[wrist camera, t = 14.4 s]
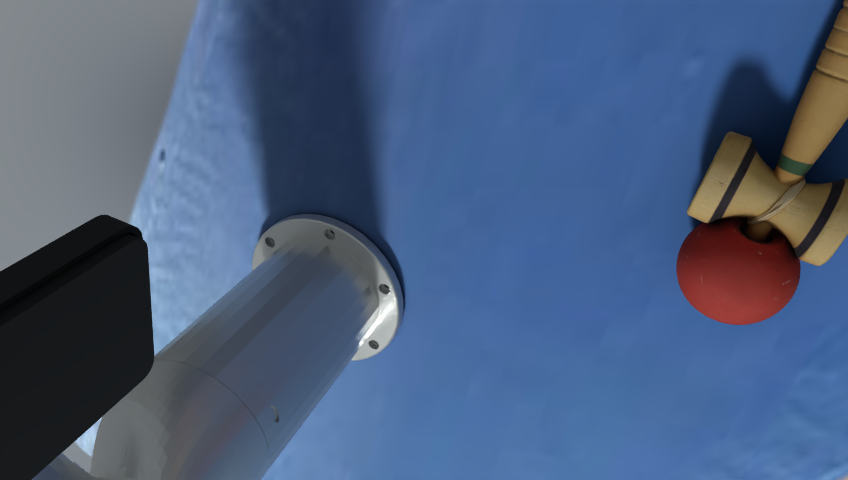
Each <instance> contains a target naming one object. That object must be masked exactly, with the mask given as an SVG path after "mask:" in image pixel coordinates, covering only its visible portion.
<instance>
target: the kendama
mask: <svg viewBox="0 0 848 480" xmlns="http://www.w3.org/2000/svg"><path fill="white" fill-rule="evenodd" d="M843 6H844V7H843V8H842V9H841V10H840V12H839V14H838V16H837V18H836V21H835V24H834V28H833V29H832V31H831V33H830V35H829V37H828V39H827V42H826V44H825V49H823V50H822V53H821V55H820V57H819V59H818V62H817V64H816V68H817V69H816V70H814V71H813V73H812V75H811V77H810V79H809V82H808V84H807V86H806V88H805V91H804V93H803V95H802V98H801V100H800V102H799V105H798V107H797V110H796V112H795V115H794V117H793V120H792V123H791V126H790V129H789V132H788V134H787V137H786V140H785V143H784V146H783V149H782V151H781V154H780V157H779V160H778V163H777V165H776V168H775V171H773V170H772V169H771V168H770V167H769V166H768V165H767V164H766V163H765V162H764V161H763V160H762V159H761V157H760V156H759V154H758V153H757V151H756V148H755V146H754V145H753V142H752V139H751V138H750V137H747V136H744V135H741V134H738V133H735V132H732V131H729V132H728V133H727V134H726V135H725V137H724V139H723V141H722V144H721V145H720V147H719V149H718V151H717V153H716V155H715V157H714V159H713V161H712V163H711V165H710V166H709V168H708V171H707V172H706V174H705V176H704V178H703V180H702V182H701V184H700V186H699V188H698V190H697V192H696V194H695V196H694V198H693V200H692V202H691V204H690V206H689V208H688V209H687V214H688V215H690V216H692V217H694V218H696V219H698V220H700V221H702V222H703V223H701V224H700V225H698V226H697V227H696V228H695V229H693V230H692V232H691V233H690V234H689V235H688V236H687V237H686V239H685V240H684V242H683V244H682V246H681V248H680V251H679V254H678V258H677V277H678V282H679V285H680V288H681V290H682V292H683V294H684V296H685V297H686V299H687V300H688V301H689V303H690V304H691V305H692V306H693V307H694V308H696V309H697V310H698V311H699V312H701V313H702V314H704V315H705V316H707V317H709V318H711V319H714V320H716V321H719V322H722V323H727V324H734V325H746V324H752V323H757V322H760V321H763V320H765V319H767V318H769V317H771V316H773V315H775V314H776V313H777V312H779V311H780V310H781V309H782V308H783V307H784V306H785V305H786V304H787V303H788V302H789V301H790V300H791V298H792V297H793V295H794V293H795V291H796V289H797V286H798V284H799V279H800V261H799V259H800V260H802V261H805V262H807V263H810V264H813V265H817V266H819V265H822V264H824V263H825V262H827V261H828V260H829V259H830V258H831V257H832V255H833V254H834V253H835V251H836V250H837V248H838V247H839V246H840V245H841V243H842V242H843V240H844V239H845V237H846V236H847V234H848V179H846V178H845V179H842V180H838V181H834V182H829V183H823V184H810V183H806V182H805V178H804V176H805V175H806V173H807V172H808V171H809V170H810V168H811V167H812V166H813V164H814V163H815V162H816V160H817V159H818V158H819V156H820V155H821V154H822V152H823V151H824V150H825V148H826V147H827V146H828V144H829V143H830V142H831V141H832V139H833V138H834V136H835V135H836V134H837V132H838V131H839V129H840V128H841V127H842V125H843V124H844V122H845V121H846V120H847V118H848V0H844V2H843Z"/></svg>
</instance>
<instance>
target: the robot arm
mask: <svg viewBox="0 0 848 480" xmlns="http://www.w3.org/2000/svg"><path fill="white" fill-rule="evenodd" d="M402 317H403V296H402V292H401V287H400V284H399V281H398V279H397V277H396V274H395V272H394V270H393V268H392V267H391V265H390V264H389V262H388V260H387V259H386V257H385V256H384V255H383V254H382V253H381V251H380V250H379V249H378V248H377V247H376V246H375V244H373V243H372V242H371V241H370V240H369V239H368V238H366V237H365V236H364V235H363V234H362V233H360V232H359V231H357V230H356V229H354V228H352V227H351V226H349V225H348V224H345V223H343V222H341V221H338V220H336V219H334V218H330V217H326V216H322V215H317V214H299V215H293V216H290V217H287V218H285V219H282V220H280V221H279V222H277V223H276V224H275V225H273V226H272V227H271V228H269V229H268V230H267V231H266V232H265V233H264V234H263V235H262V236H261V238H260V239H259V241H258V243H257V245H256V247H255V250H254V254H253V258H252V272H251V273H249V274H248V275H247V276H246V277H245V278H244V279H243V280H241V281H240V282H239V283H238V284H237V285H236V286H234V287H233V288H232V289H231V290H230V291H229V292H228V293H226V294H225V295H224V296H223V297H222V298H221V299H219V300H218V301H217V302H216V303H215V304H214V305H213V306H211V307H210V308H209V309H208V310H207V311H206V312H205V313H203V314H202V315H201V316H200V317H199V318H198V319H196V320H195V321H194V322H193V323H192V324H191V325H190V326H188V327H187V328H186V329H185V330H184V331H183V332H181V333H180V334H179V335H178V336H177V337H176V338H175V339H173V340H172V341H171V342H170V343H169V344H168V345H166V346H165V347H164V348H163V349H162V350H161V351H160V352H158V353H157V354H156V355H155V356H154V344H153V327H152V311H151V295H150V278H149V262H148V247H147V243H146V242H145V241H144V240H143V238H142V233H141V231H140V230H139V229H138V228H137V227H134V226H132V225H130V224H128V223H125V222H123V221H120V220H118V219H115V218H113V217H111V216H108V215H100V216H97V217H95V218H94V219H91V220H90V221H88V222H86V223H85V224H83V225H81V226H79V227H77V228H76V229H74V230H72V231H70V232H69V233H67V234H65V235H63V236H62V237H60V238H58V239H56V240H55V241H53V242H51V243H49V244H48V245H46V246H44V247H42V248H41V249H39V250H37V251H36V252H34V253H32V254H30V255H29V256H27V257H25V258H23V259H21V260H20V261H18V262H16V263H14V264H13V265H11V266H9V267H8V268H6V269H4V270H2V271H0V480H261V479H262V478H263V476H264V475H265V473H266V472H267V470H268V469H269V468H270V466H271V465H272V464H273V462H274V461H275V460H276V458H277V457H278V456H279V455H280V453H281V452H282V451H283V449H284V448H285V447H286V445H287V444H288V443H289V441H290V440H291V439H292V437H293V436H294V435H295V433H296V432H297V431H298V429H299V428H300V427H301V425H302V424H303V423H304V421H305V420H306V419H307V417H308V416H309V415H310V413H311V412H312V411H313V410H314V408H315V407H316V406H317V404H318V403H319V402H320V400H321V399H322V398H323V396H324V395H325V394H326V392H327V391H328V390H329V388H330V387H331V386H332V384H333V383H334V382H335V380H336V379H337V378H338V376H339V375H340V374H341V372H342V371H343V370H344V368H345V367H346V366H347V365H348V363H349V362H350V361H358V360H362V359H366V358H370V357H372V356H374V355H376V354H378V353H380V352H381V351H382V350H383V349H384V348H386V347H387V346H388V345H389V343H390V342H391V341H392V339H393V338H394V336H395V335H396V333H397V331H398V329H399V327H400V325H401V321H402ZM101 417H102V419H101V422H100V425H99V428H98V432H97V436H96V440H95V445H94V450H93V456H92V462H91V469H90V474H89V473H88V472H86V471H85V470H84V469H83V468H81V467H80V466H79V465H78V464H77V463H76V462H72V461H70V460H69V459H68V458H67V457H66V456H65V455H64V454H63V453H62V452H63V451H64V450H65V449H66V448H68V447H69V446H70V445H71V444H72V443H73V442H74V441H75V440H77V439H78V438H79V437H80V436H81V435H82V434H83V433H84V432H86V431H87V430H88V429H89V428H90V427H91V426H92V425H93V424H95V423H96V422H97V421H98V420H99V419H100V418H101Z"/></svg>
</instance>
